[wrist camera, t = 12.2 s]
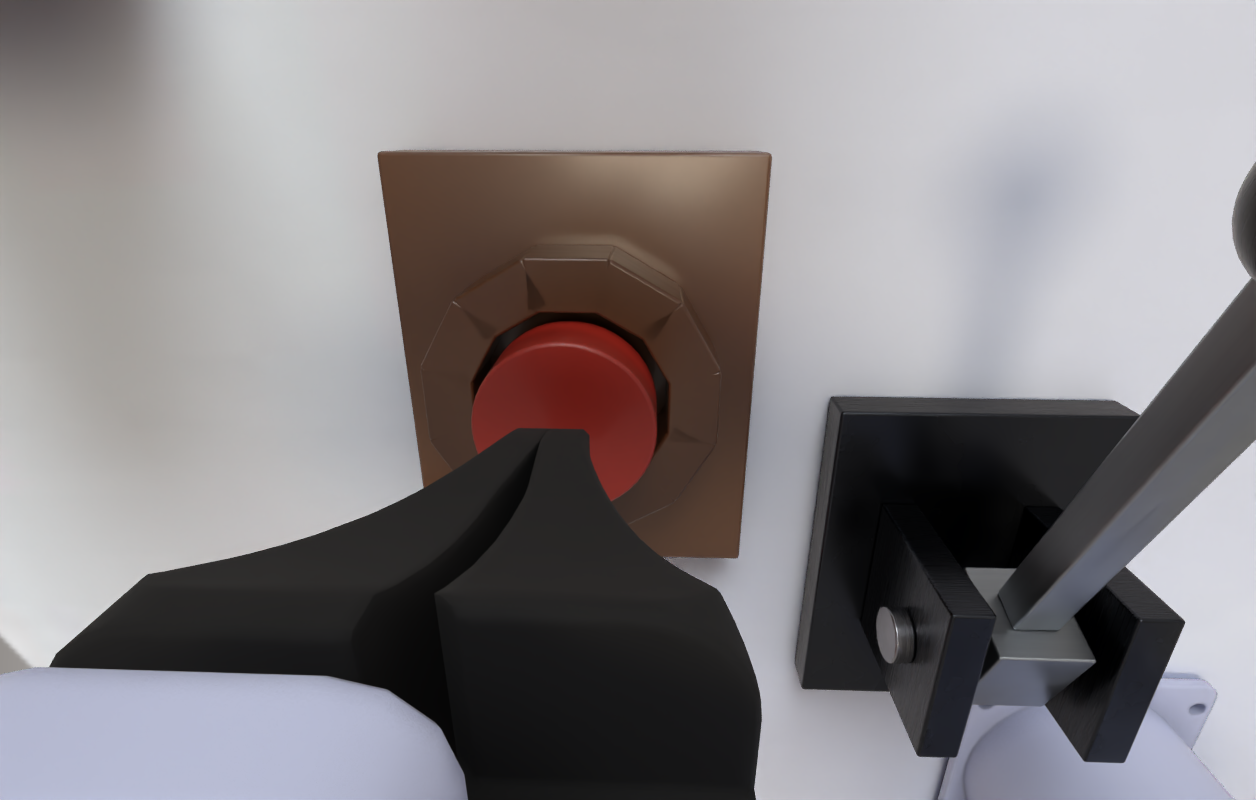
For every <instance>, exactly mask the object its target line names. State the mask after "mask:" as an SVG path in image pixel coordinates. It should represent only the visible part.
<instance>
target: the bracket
mask: <svg viewBox="0 0 1256 800" xmlns="http://www.w3.org/2000/svg"><path fill="white" fill-rule="evenodd" d="M1139 417H1140V415H1139V414H1137V413H1136V412H1134V411H1132V410H1130V409H1129V408H1127V407H1125V406H1123V405H1122V404H1120V403H1118V402H1116V401H1091V400H1024V399H957V398H890V397H831V399H830V407H829V414H828V421H827V429H826V436H825V443H824V451H823V458H822V466H821V473H820V480H819V488H818V495H817V502H816V510H815V517H814V525H813V532H812V539H811V547H810V554H809V561H808V569H807V576H806V584H805V591H804V598H803V606H802V613H801V620H800V628H799V635H798V643H797V650H796V657H795V665H796V669H797V672H798V676H799V680H800V683H801V687H802V688H803V689H818V690H853V691H888V692H890V694H891V696H892V698H893V701H894V703H895V705H896V708H897V710H898V712H899V715H900V717H901V719H902V722H903V724H904V726H905V729H906V731H907V733H908V736H909V738H910V740H911V743H912V745H913V747H914V750H915V752H916V754H917V755H918V756H919V757H946V758H955V757H957V756H958V752H959V749H960V745H961V742H962V738H963V735H964V731H965V728H966V724H967V721H968V717H969V714H970V710H971V707H972V703H973V700H974V696H975V693H976V689H977V686H978V682H979V679H980V675H981V672H982V668H983V665H984V661H985V658H986V654H987V651H988V647H989V644H990V640H991V637H992V633H993V630H994V626H995V623H996V619H997V618H996V615H995V613H994V612H993V610H992V609H991V608H990V606H989V605H988V603H987V602H986V601H985V599H984V598H983V597H982V595H981V594H980V592H979V591H978V590H977V588H976V587H975V585H974V584H973V583H972V581H971V580H970V578H969V577H968V576H967V574H966V573H965V571H964V570H963V568H965V567H991V568H1018V566H1019V565H1020V564H1021V563H1022V562H1023V560H1024V559H1025V558H1026V557H1027V555H1028V554H1029V553H1030V552H1031V550H1032V549H1033V548H1034V547H1035V545H1036V544H1037V543H1038V542H1039V540H1040V539H1041V538H1042V537H1043V536H1044V534H1045V533H1046V532H1047V531H1048V529H1049V528H1050V527H1051V526H1052V524H1053V523H1054V522H1055V521H1056V519H1057V518H1058V517H1059V516H1060V514H1061V513H1062V512H1063V511H1064V509H1065V508H1066V507H1067V506H1068V505H1069V503H1070V502H1071V501H1072V500H1073V498H1074V497H1075V496H1076V495H1077V493H1078V492H1079V491H1080V490H1081V488H1082V487H1083V486H1084V485H1085V483H1086V482H1087V481H1088V480H1089V479H1090V477H1091V476H1092V475H1093V474H1094V472H1095V471H1096V470H1097V469H1098V467H1099V466H1100V465H1101V464H1102V462H1103V461H1104V460H1105V459H1106V457H1107V456H1108V455H1109V454H1110V453H1111V451H1112V450H1113V449H1114V448H1115V446H1116V445H1117V444H1118V443H1119V441H1120V440H1121V439H1122V438H1123V436H1124V435H1125V434H1126V433H1127V431H1128V430H1129V429H1130V428H1131V426H1132V425H1133V424H1134V423H1135V422H1136V420H1137V419H1138V418H1139ZM1074 616H1075V618H1076V620H1077V622H1078V624H1079V627H1080V629H1081V631H1082V633H1083V635H1084V637H1085V639H1086V641H1087V643H1088V645H1089V647H1090V649H1091V651H1092V653H1093V655H1094V657H1095V659H1096V663H1095V664H1094V665H1092V666H1091V667H1090V668H1089V669H1087V670H1086V671H1085V672H1084V673H1083V674H1081V675H1080V676H1079V677H1078V678H1076V679H1075V680H1074V681H1073V682H1072V683H1070V684H1069V685H1068V686H1067V687H1065V688H1064V689H1063V690H1062V691H1061V692H1059V693H1058V694H1057V695H1056V696H1054V697H1053V698H1052V699H1051V700H1050V701H1048V702H1047V703H1046V704H1045V706H1046V708H1047V709H1048V711H1049V712H1050V714H1051V715H1052V716H1053V718H1054V719H1055V721H1056V722H1057V724H1058V725H1059V727H1060V728H1061V729H1062V731H1063V732H1064V734H1065V735H1066V737H1067V738H1068V740H1069V741H1070V742H1071V744H1072V745H1073V747H1074V748H1075V750H1076V751H1077V753H1078V754H1079V755H1080V757H1081V758H1082V760H1083V761H1084V762H1095V763H1124V762H1125V761H1126V759H1127V757H1128V754H1129V752H1130V750H1131V747H1132V745H1133V743H1134V740H1135V738H1136V736H1137V733H1138V731H1139V729H1140V726H1141V724H1142V722H1143V719H1144V717H1145V715H1146V713H1147V710H1148V708H1149V706H1150V703H1151V701H1152V699H1153V696H1154V694H1155V692H1156V689H1157V687H1158V685H1159V682H1160V680H1161V678H1162V675H1163V673H1164V671H1165V669H1166V666H1167V664H1168V662H1169V659H1170V657H1171V655H1172V652H1173V650H1174V648H1175V645H1176V643H1177V641H1178V638H1179V636H1180V634H1181V631H1182V629H1183V627H1184V625H1185V621H1184V620H1183V619H1182V618H1181V617H1180V616H1179V615H1178V614H1177V613H1176V612H1175V611H1173V610H1172V609H1171V608H1170V607H1169V606H1168V605H1167V604H1166V603H1165V602H1164V601H1162V600H1161V599H1160V598H1159V597H1158V596H1157V595H1156V594H1155V593H1154V592H1153V591H1151V590H1150V589H1149V588H1148V587H1147V586H1146V585H1145V584H1144V583H1143V582H1142V581H1140V580H1139V579H1138V578H1137V577H1136V576H1135V575H1134V574H1133V573H1132V572H1131V571H1129V570H1128V569H1127V568H1126V567H1124V568H1123V569H1122V570H1121V571H1120V572H1119V573H1118V574H1117V575H1116V576H1115V577H1114V578H1113V579H1111V580H1110V581H1109V582H1108V583H1107V584H1106V585H1105V586H1104V587H1103V588H1102V589H1101V590H1100V591H1099V592H1098V593H1097V594H1096V595H1095V596H1094V597H1093V598H1092V599H1091V600H1090V601H1089V602H1088V603H1087V604H1086V605H1085V606H1084V607H1083V608H1082V609H1081V610H1079V611H1078V612H1077V613H1076V614H1075V615H1074Z"/></svg>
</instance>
